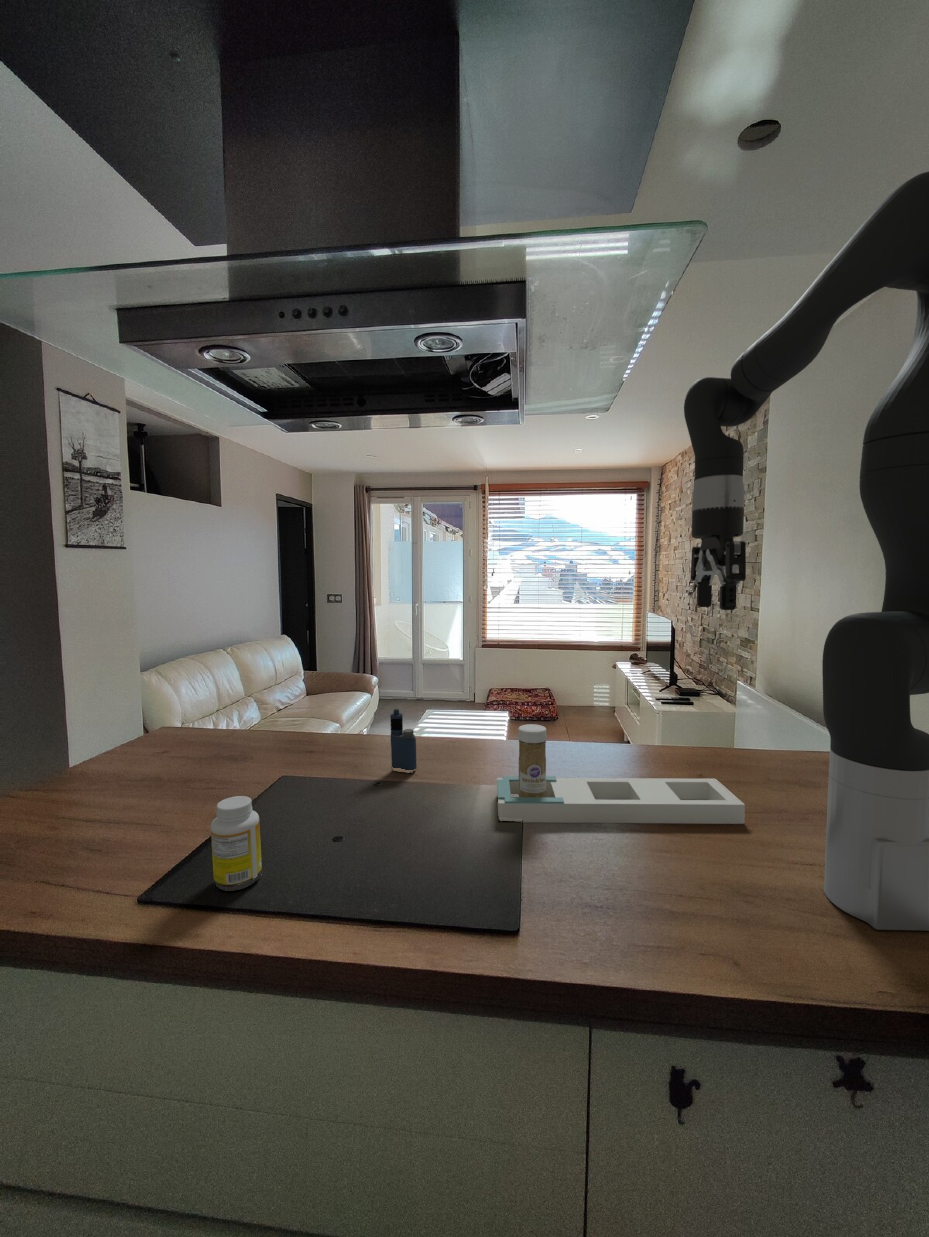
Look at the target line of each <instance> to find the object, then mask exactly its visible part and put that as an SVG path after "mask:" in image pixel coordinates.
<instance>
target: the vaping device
mask: <svg viewBox="0 0 929 1237" xmlns="http://www.w3.org/2000/svg"><path fill="white" fill-rule="evenodd" d="M389 717H390V748H391V750H390V752H391V753H390V754H391V755H390V756H391V758H390V759H391V768H392V767H393V768H401V769H405V770H414V769H416V770H417V768H418V767H417V738H416V735H415V733H414V729H413V728H412V729H411V728H407V729H406V728H405V729H403V728H404V727H403V726H404V724H403V713H400V710H399V708H395V709H393V713H390V716H389Z"/></svg>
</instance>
